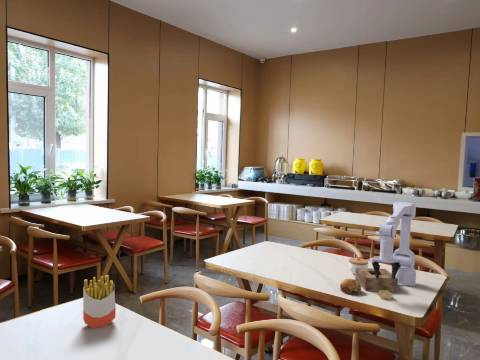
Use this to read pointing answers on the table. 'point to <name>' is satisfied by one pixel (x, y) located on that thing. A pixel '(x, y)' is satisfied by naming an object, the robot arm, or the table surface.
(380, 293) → the brass cube
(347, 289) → the bread roll
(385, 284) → the coin box
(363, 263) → the lidded jar
